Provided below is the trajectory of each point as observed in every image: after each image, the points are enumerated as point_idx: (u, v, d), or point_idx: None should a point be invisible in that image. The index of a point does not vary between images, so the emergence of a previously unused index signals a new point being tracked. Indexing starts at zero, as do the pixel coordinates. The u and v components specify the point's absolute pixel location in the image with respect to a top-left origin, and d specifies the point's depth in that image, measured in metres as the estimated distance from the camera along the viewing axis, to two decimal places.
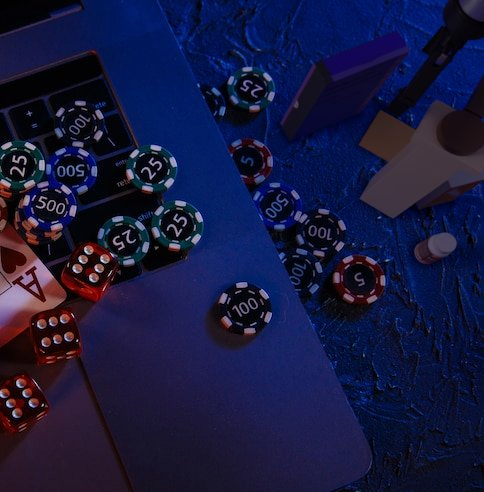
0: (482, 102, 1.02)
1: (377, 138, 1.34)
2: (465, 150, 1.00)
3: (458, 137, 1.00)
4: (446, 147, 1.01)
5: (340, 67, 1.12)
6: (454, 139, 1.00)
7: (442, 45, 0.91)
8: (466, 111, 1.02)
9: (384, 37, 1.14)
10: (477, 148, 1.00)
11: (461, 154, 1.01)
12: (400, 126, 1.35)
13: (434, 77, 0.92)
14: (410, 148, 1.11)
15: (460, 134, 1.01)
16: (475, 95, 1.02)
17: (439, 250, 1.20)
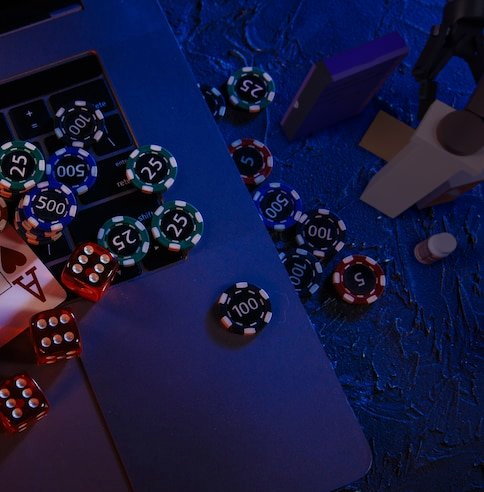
0: (482, 102, 1.02)
1: (377, 138, 1.34)
2: (465, 150, 1.00)
3: (458, 137, 1.00)
4: (446, 147, 1.01)
5: (340, 67, 1.12)
6: (454, 139, 1.00)
7: None
8: (466, 111, 1.02)
9: (384, 37, 1.14)
10: (477, 148, 1.00)
11: (461, 154, 1.01)
12: (400, 126, 1.35)
13: (435, 42, 1.05)
14: (410, 148, 1.11)
15: (460, 134, 1.01)
16: (475, 95, 1.02)
17: (439, 250, 1.20)
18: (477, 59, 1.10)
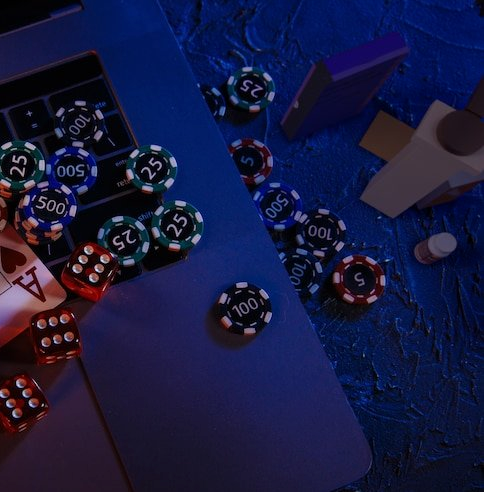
0: (482, 102, 1.02)
1: (377, 138, 1.34)
2: (465, 150, 1.00)
3: (458, 137, 1.00)
4: (446, 147, 1.01)
5: (340, 67, 1.12)
6: (454, 139, 1.00)
7: None
8: (466, 111, 1.02)
9: (384, 37, 1.14)
10: (477, 148, 1.00)
11: (461, 154, 1.01)
12: (400, 126, 1.35)
13: None
14: (410, 148, 1.11)
15: (460, 134, 1.01)
16: (475, 95, 1.02)
17: (439, 250, 1.20)
18: None
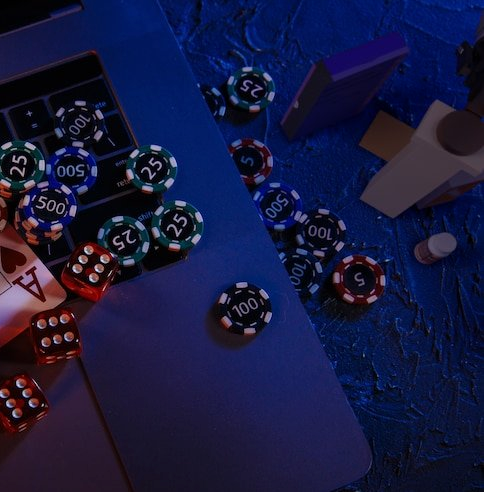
0: (482, 102, 1.02)
1: (377, 138, 1.34)
2: (465, 150, 1.00)
3: (458, 137, 1.00)
4: (446, 147, 1.01)
5: (340, 67, 1.12)
6: (454, 139, 1.00)
7: None
8: (466, 111, 1.02)
9: (384, 37, 1.14)
10: (477, 148, 1.00)
11: (461, 154, 1.01)
12: (400, 126, 1.35)
13: (465, 50, 1.09)
14: (410, 148, 1.11)
15: (460, 134, 1.01)
16: None
17: (439, 250, 1.20)
18: None
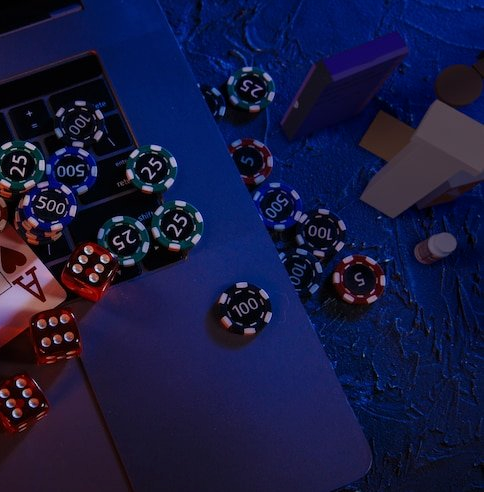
0: None
1: (377, 138, 1.34)
2: (451, 101, 1.08)
3: (451, 89, 1.09)
4: (436, 94, 1.10)
5: (340, 67, 1.12)
6: (446, 89, 1.09)
7: None
8: (471, 67, 1.09)
9: (384, 37, 1.14)
10: (463, 103, 1.08)
11: (447, 104, 1.09)
12: (400, 126, 1.35)
13: None
14: (410, 148, 1.11)
15: (453, 86, 1.09)
16: None
17: (439, 250, 1.20)
18: None
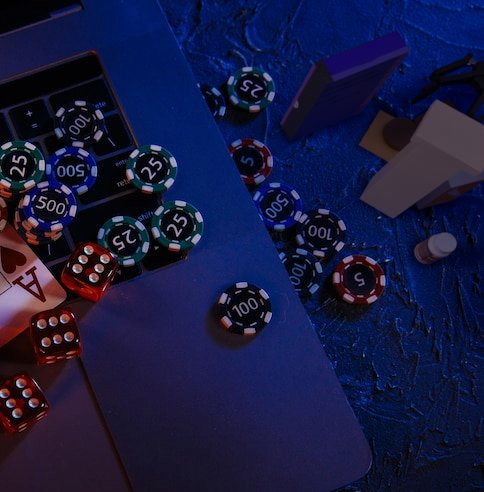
0: None
1: (377, 138, 1.34)
2: (397, 145, 1.32)
3: (396, 135, 1.33)
4: (385, 138, 1.33)
5: (340, 67, 1.12)
6: (393, 135, 1.33)
7: None
8: (412, 121, 1.34)
9: (384, 37, 1.14)
10: None
11: (393, 147, 1.33)
12: None
13: (456, 61, 1.32)
14: (410, 148, 1.11)
15: (399, 133, 1.33)
16: (424, 113, 1.34)
17: (439, 250, 1.20)
18: (481, 92, 1.30)
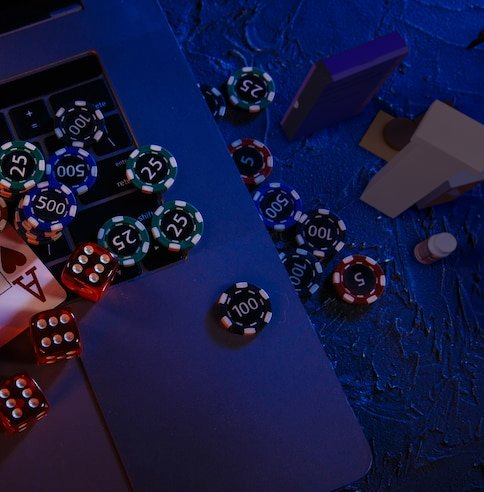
0: None
1: (377, 138, 1.34)
2: (397, 145, 1.32)
3: (396, 135, 1.33)
4: (385, 138, 1.33)
5: (340, 67, 1.12)
6: (393, 135, 1.33)
7: None
8: (412, 121, 1.34)
9: (384, 37, 1.14)
10: None
11: (393, 147, 1.33)
12: None
13: None
14: (410, 148, 1.11)
15: (399, 133, 1.33)
16: (424, 113, 1.34)
17: (439, 250, 1.20)
18: None
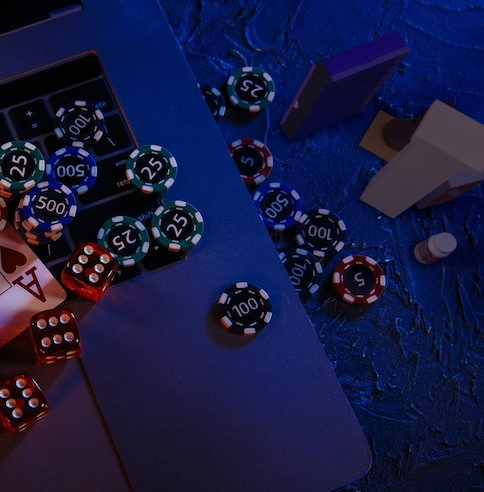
0: None
1: (377, 138, 1.34)
2: (397, 145, 1.32)
3: (396, 135, 1.33)
4: (385, 138, 1.33)
5: (340, 67, 1.12)
6: (393, 135, 1.33)
7: None
8: (412, 121, 1.34)
9: (384, 37, 1.14)
10: None
11: (393, 147, 1.33)
12: None
13: None
14: (410, 148, 1.11)
15: (399, 133, 1.33)
16: (424, 113, 1.34)
17: (439, 250, 1.20)
18: None
